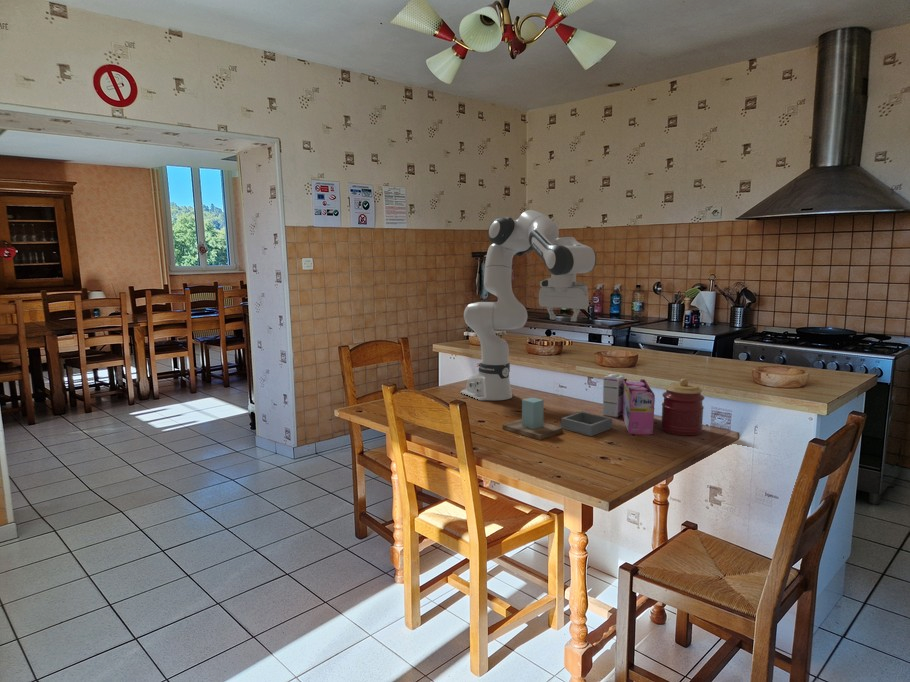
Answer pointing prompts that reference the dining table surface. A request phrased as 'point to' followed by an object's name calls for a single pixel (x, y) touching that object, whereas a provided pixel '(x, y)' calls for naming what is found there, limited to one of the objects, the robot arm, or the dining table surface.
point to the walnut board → (533, 430)
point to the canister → (682, 409)
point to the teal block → (532, 413)
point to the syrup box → (613, 395)
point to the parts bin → (576, 424)
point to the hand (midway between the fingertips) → (563, 320)
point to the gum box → (638, 407)
